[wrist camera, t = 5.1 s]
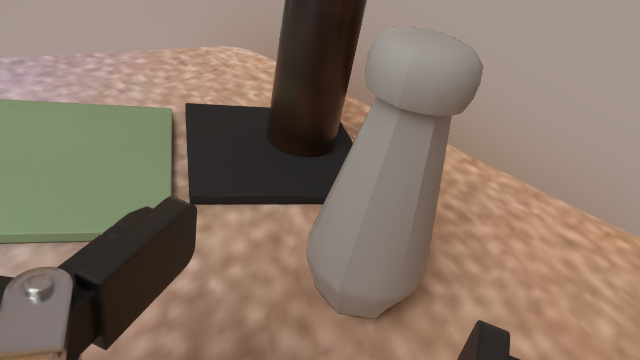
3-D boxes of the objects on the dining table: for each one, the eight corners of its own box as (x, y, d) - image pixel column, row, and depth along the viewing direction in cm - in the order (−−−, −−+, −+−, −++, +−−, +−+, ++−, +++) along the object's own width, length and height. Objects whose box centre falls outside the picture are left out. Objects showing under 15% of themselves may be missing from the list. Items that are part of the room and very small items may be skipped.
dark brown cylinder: (325, 124, 38) (355, -23, 32) (342, 158, 34) (380, -2, 28) (261, 121, 37) (281, -33, 31) (272, 156, 33) (297, -13, 27)
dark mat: (333, 117, 41) (334, 111, 41) (381, 203, 32) (383, 196, 31) (185, 109, 38) (185, 102, 37) (189, 204, 28) (190, 196, 28)
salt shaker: (284, 256, 26) (329, 7, 19) (377, 242, 28) (448, 16, 21) (327, 345, 22) (407, 65, 15) (433, 320, 24) (545, 69, 17)
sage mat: (171, 115, 36) (172, 107, 36) (171, 239, 25) (171, 230, 25) (-15, 106, 33) (-17, 98, 33) (-110, 246, 22) (-114, 236, 22)
